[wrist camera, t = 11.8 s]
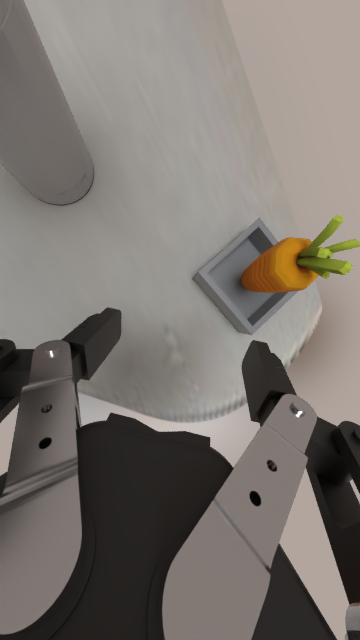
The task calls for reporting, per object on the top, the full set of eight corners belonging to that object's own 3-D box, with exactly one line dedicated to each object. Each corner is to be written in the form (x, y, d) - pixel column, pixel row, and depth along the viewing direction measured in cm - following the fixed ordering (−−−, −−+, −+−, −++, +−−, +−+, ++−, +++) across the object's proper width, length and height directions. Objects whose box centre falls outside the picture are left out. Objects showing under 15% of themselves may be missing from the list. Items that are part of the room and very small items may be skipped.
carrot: (235, 259, 27) (332, 192, 12) (264, 274, 28) (391, 229, 13) (221, 290, 27) (301, 262, 12) (250, 305, 27) (362, 296, 13)
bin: (192, 278, 27) (198, 271, 23) (244, 231, 28) (259, 217, 24) (238, 332, 28) (251, 334, 24) (287, 285, 29) (308, 281, 25)
